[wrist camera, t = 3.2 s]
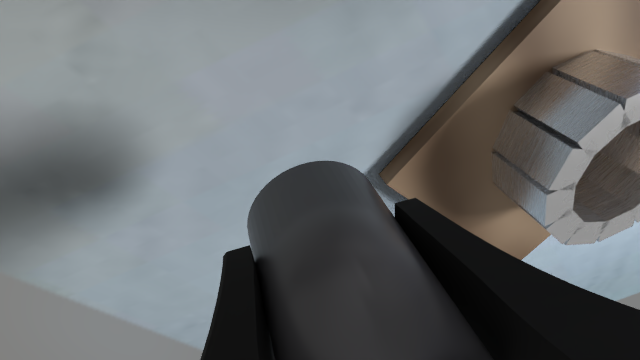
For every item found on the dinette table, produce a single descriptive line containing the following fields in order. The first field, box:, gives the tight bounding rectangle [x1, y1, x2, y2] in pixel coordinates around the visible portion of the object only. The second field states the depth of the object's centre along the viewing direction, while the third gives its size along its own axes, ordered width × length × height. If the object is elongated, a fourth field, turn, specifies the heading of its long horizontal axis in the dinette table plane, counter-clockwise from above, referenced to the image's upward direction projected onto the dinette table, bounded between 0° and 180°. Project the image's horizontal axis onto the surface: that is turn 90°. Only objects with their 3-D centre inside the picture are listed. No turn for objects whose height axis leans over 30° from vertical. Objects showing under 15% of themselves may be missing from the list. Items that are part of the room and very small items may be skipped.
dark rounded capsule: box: [247, 161, 494, 360], centre depth 10 cm, size 4×4×6 cm
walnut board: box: [379, 0, 640, 260], centre depth 22 cm, size 16×14×1 cm
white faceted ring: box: [491, 49, 640, 245], centre depth 20 cm, size 9×9×4 cm
